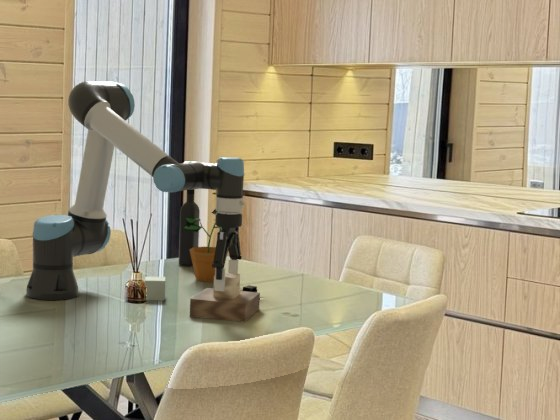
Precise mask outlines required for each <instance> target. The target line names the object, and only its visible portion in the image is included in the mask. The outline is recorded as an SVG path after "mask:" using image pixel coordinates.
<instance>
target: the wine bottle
mask: <svg viewBox="0 0 560 420" xmlns="http://www.w3.org/2000/svg"><path fill="white" fill-rule="evenodd" d="M195 190H196V189H192V190H186V199H185V202H184V203H183V204H182V206H181V207H180V210H179V212H180V213H179V236H178V237H179V241H178V242H179V244H178V246H179V247H178V265H180V266H183V267H184V266H185V267H193V263H192V259H191V255H190V250H189V249H191V248H193V247H199V242H200V241H199V238H200V230H199V231H198V232H195V231H192V230H188V229H185V228H183V227H184V226H185V225H186V224H187V222H186V218H191V219H200V213H201V212H200V207H199V205H198V204H197V203H196V201H195ZM193 224H195V225H198V226H200V221H199V220H197V221H196V222H195V223H193Z"/></svg>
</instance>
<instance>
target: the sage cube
mask: <svg viewBox="0 0 560 420" xmlns="http://www.w3.org/2000/svg"><path fill="white" fill-rule="evenodd" d="M145 283H146V286H147V292H146V295H147V296H146V300H145V301H165V300H166V276H145V278H144V284H145Z"/></svg>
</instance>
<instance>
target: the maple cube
mask: <svg viewBox="0 0 560 420" xmlns="http://www.w3.org/2000/svg"><path fill="white" fill-rule="evenodd" d="M214 287H215V276H214V281H213V288H214ZM240 287H241V274H240V273H238V274H233V273H228V272H225V290H224V291H214V289H213V297H220V298H230V299H234V298H235V297H237V296H238V295H239V292H240V291H241V290H240Z"/></svg>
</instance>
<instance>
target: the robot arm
mask: <svg viewBox="0 0 560 420" xmlns="http://www.w3.org/2000/svg"><path fill="white" fill-rule="evenodd" d="M67 101H68V109H69V111H70V113H71V115H72V116H73V117H74V119H75V120H77V122H78V123H80V124H81V125H82V126H83V127H84V128H86V129H87V133H86V139H85V146H84V153H83V157H82V163H81V168H80V174H79V180H78V185H77V191H76V196H75V201H74V204H73V205H72V206H70V207H68V212H67V214H54V215H46V216H42V217H40V218H37V219H36V220H35V221H34V223H33V228H32V229H33V230H32V271H31V274H30V276H29V280H28V282H27V286H26V289H25V291H26V295H25V296H27V298H31V299H33V300H34V299H35V300H43V301H61V300H62V301H63V300H69V299H74V298H77V297H78V296H79V286H78V282H77V279H76V275H75V273H74V257H80V256H85V255H92V254H95V253H97V252H100V251H102V250H104V248H106V246H107V245H108V243H109V242H110V239H111V234H112V233H111V232H112V231H111V227H110V226H109V224H110V223H109V221H108V219H107V215H108V214H107V213H106V211H104V204H105V199H106V193H107V188H108V185H109V184H108V183H109V177H110V172H111V167H112V162H113V156H114V152H115V150H114V149H115V148H116V149H117V150H118V151H120V152H121V153H122V154H123V155H125V156H126V158H129V159H130V160H131V161H132V162H134V164H136V165H137V166H139V167H140V168H141V169H142V170H143V171H145V172H146V173H147V174H148V175H150V176H151V177H152V178H153V180H152V181H153V183H154V186H155V187H156V189H157V190H158V191H161V192H163V193H176V192H183V191H187V190H192V189H195V190H199V189H200V190H201V189H202V190H213V191H215V193H216V196H215V209H216V211H218V212H217V213H216V215H215V222H214V224H216V225H215V227H216V226H219V227H221V228H222V229H221V232H219V231H218V232H217V234H216V235H217V236H216V237H217V238H216V244H215V247H216V249H215V255H214V261H213V264H212V268H215V287H214V286H213V288H214V291H224V290H225V273H226V267H225V265H226V262H227V257H228V255H229V259H228V266H227V268H228V269H227V271H228V272H227V273H233V274H239V260H240V261H241V260H242V253H241V245H240V232H239V231H240V227H242V226H243V214H242V212H243V206H244V205H245V202H244V201H243V200H244V198H243V197H244V182H245V181H244V180H245V179H244V178H245V162H244V160H243V159H242V158H241V157H236V156H235V157H232V156H231V157H229V156H221V157H218V159H217V161H216V162H217V163H212V162H201V161H198V160H194V161H193V160H192V161H189V160H188V161H184V162H182V163H179V162H178V161H177V160H176V159H174V158H172V157H171V155H169V154H168V153H166V152H165V151H164V150H163V149H161V148H160V147H159V146H158V145H157V144H155V143H154V142H153V141H152V140H150V139H149V138H148V137H147V136H145V135H144V134H143V133H141V131H139V130H138V129H137V128H135V127H134V126H132V125H131V124H130V123H129V122H127V120H129V118H130V117H132V115H133V114H134V111H135V98H134V95H133V94H132V92H131V90H130V88H128V87H127V86H126V85H124V84H123V83H120V82H115V81H110V80H109V81H100V80H99V81H97V80H96V81H93V80H86V81H81V82H79V83H78V84H76V85H75V86H74V87H73V88H72V89H71V91H70V93H69V95H68V100H67Z"/></svg>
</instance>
